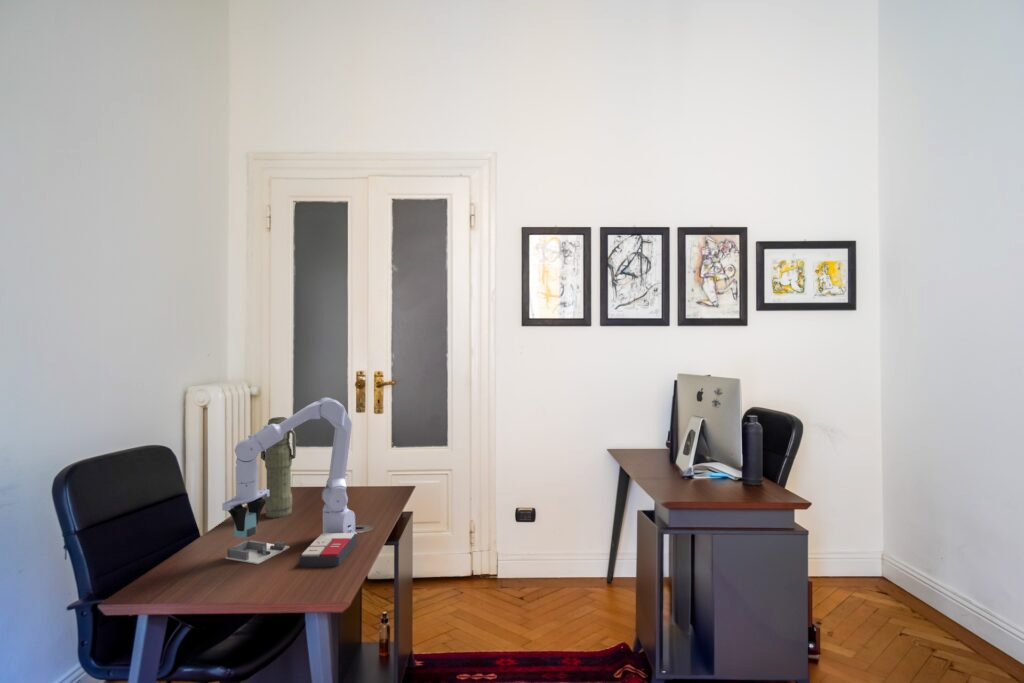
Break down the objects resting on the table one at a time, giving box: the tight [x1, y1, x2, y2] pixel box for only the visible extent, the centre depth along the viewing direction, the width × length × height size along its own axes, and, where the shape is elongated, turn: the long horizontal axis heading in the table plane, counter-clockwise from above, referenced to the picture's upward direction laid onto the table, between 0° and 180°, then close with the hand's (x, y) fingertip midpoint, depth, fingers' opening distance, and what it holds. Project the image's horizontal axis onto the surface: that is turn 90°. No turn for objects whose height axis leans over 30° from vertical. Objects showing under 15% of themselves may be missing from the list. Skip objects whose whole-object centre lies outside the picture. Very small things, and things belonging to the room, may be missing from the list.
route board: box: [225, 540, 291, 565], centre depth 143 cm, size 12×12×2 cm
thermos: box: [260, 416, 297, 519], centre depth 177 cm, size 9×12×35 cm
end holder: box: [226, 539, 268, 560], centre depth 141 cm, size 7×7×3 cm
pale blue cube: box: [233, 511, 257, 539], centre depth 142 cm, size 5×4×6 cm
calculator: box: [298, 532, 358, 567], centre depth 141 cm, size 11×4×15 cm
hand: (247, 527), depth 142 cm, fingers closed on pale blue cube, 4 cm apart
